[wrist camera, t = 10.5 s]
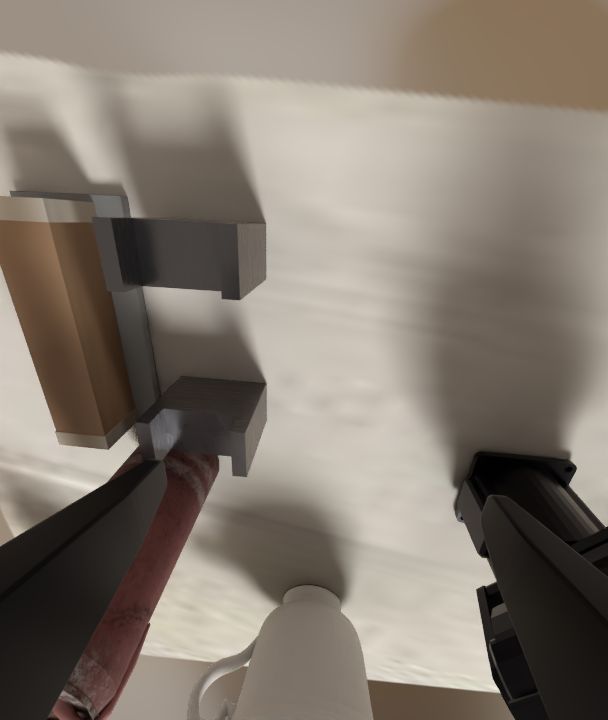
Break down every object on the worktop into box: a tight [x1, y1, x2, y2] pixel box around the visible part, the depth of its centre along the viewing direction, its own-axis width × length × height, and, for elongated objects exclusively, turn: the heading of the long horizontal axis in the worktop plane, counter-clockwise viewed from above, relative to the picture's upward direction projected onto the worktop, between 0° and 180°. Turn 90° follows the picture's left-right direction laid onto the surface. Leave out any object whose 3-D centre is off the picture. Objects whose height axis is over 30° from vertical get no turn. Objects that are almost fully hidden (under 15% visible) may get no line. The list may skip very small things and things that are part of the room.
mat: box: [10, 191, 160, 419], centre depth 20 cm, size 6×15×1 cm, turn 177°
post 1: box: [92, 217, 266, 300], centre depth 16 cm, size 6×3×6 cm, turn 87°
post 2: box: [135, 376, 267, 477], centre depth 20 cm, size 6×3×6 cm, turn 87°
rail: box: [0, 196, 138, 450], centre depth 19 cm, size 3×14×3 cm, turn 178°
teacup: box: [187, 585, 373, 720], centre depth 26 cm, size 12×15×10 cm
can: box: [47, 445, 219, 720], centre depth 18 cm, size 6×6×14 cm
